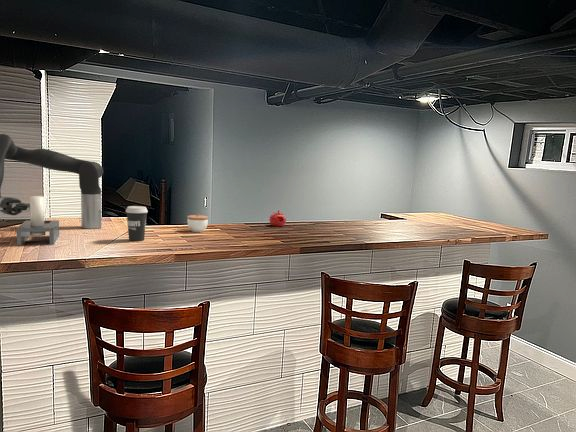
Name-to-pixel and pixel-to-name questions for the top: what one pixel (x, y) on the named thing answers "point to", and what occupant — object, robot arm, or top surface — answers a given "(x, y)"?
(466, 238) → the top surface
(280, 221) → the pomegranate
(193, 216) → the lidded jar
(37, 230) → the keyhole plate
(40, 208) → the peg
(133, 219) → the coffee cup
